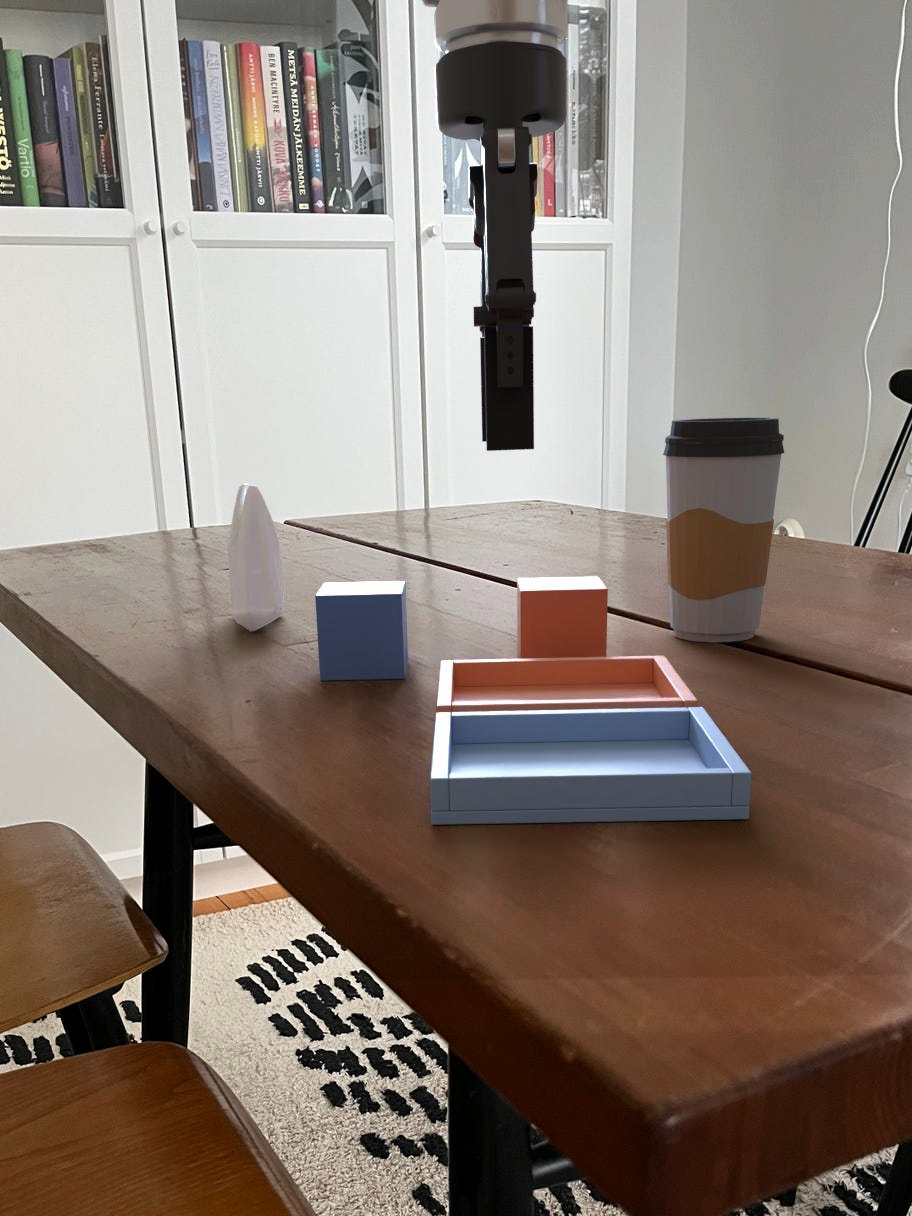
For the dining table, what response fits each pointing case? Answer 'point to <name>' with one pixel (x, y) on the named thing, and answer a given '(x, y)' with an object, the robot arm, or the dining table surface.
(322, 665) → the blue block
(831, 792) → the dining table surface
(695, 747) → the blue tray
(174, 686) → the dining table surface
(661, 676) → the terracotta tray
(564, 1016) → the dining table surface
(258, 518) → the white pointed piece
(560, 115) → the robot arm
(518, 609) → the terracotta block
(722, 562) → the coffee cup
